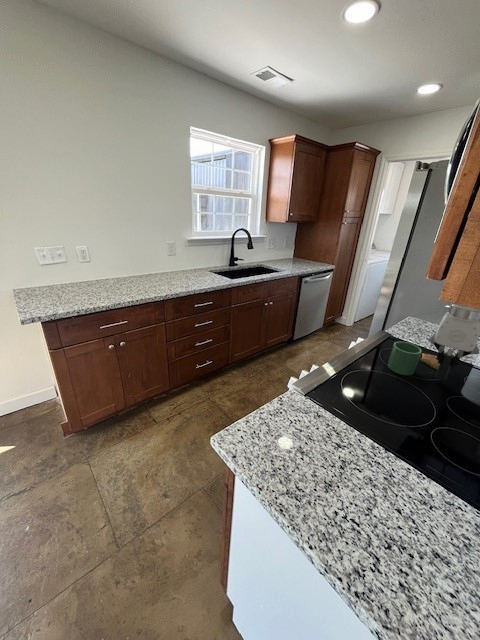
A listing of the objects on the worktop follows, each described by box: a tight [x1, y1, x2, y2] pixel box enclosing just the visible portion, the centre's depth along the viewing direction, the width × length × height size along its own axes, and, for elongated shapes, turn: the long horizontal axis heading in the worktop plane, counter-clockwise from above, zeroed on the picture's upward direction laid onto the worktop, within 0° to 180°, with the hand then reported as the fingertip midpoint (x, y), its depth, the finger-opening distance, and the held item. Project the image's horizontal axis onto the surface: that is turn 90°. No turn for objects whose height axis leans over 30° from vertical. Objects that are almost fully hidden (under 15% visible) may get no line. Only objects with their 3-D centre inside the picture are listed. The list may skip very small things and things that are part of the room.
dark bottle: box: [435, 348, 455, 381], centre depth 88 cm, size 3×3×11 cm
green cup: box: [387, 341, 422, 376], centre depth 96 cm, size 9×9×9 cm
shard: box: [420, 352, 439, 370], centre depth 100 cm, size 11×8×2 cm
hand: (445, 363), depth 88 cm, fingers closed on dark bottle, 3 cm apart
